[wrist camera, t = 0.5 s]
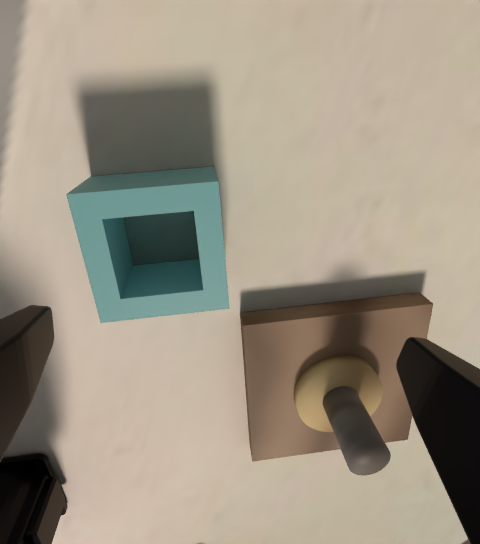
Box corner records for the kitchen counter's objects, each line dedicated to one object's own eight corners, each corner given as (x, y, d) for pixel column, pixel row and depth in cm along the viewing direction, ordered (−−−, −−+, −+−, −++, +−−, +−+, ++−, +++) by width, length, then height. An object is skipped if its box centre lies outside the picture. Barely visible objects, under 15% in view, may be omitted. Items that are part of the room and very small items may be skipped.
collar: (116, 286, 22) (100, 322, 18) (91, 176, 19) (66, 194, 15) (223, 274, 22) (229, 308, 19) (214, 166, 19) (218, 181, 16)
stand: (249, 444, 29) (265, 541, 22) (240, 312, 23) (256, 391, 17) (397, 423, 30) (452, 511, 23) (419, 292, 24) (498, 360, 18)
